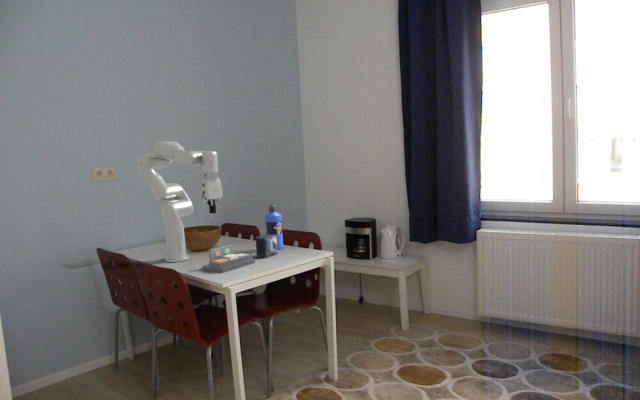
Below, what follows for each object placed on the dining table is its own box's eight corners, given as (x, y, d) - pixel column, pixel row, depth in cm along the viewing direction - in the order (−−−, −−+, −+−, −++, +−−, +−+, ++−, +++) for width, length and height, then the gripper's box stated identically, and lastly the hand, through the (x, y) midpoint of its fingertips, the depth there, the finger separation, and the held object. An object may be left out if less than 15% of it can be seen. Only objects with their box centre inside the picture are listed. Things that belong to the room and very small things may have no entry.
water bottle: (287, 247, 281) (283, 203, 279) (276, 251, 273) (273, 205, 271) (273, 246, 286) (270, 203, 284) (263, 250, 278) (260, 205, 276)
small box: (266, 258, 257) (264, 238, 256) (256, 257, 260) (254, 237, 259) (278, 254, 266) (277, 234, 265) (268, 253, 269) (267, 234, 268)
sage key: (233, 259, 247) (232, 255, 247) (240, 257, 252) (240, 253, 251) (240, 260, 244) (240, 256, 244) (248, 258, 248) (248, 254, 248)
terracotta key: (212, 265, 237) (212, 261, 237) (221, 262, 241) (220, 258, 241) (220, 266, 234) (220, 262, 234) (228, 263, 238) (228, 259, 238)
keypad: (202, 269, 240) (201, 251, 239) (235, 260, 256) (233, 243, 256) (222, 272, 231) (221, 253, 231) (254, 262, 248) (253, 244, 247)
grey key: (223, 260, 242) (222, 256, 242) (231, 257, 246) (230, 253, 246) (230, 261, 239) (230, 256, 239) (238, 258, 243) (238, 254, 243)
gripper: (203, 177, 239) (206, 215, 241) (227, 175, 251) (229, 211, 253) (193, 177, 244) (196, 214, 246) (217, 174, 255) (219, 210, 258)
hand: (212, 213), depth 249 cm, fingers closed
